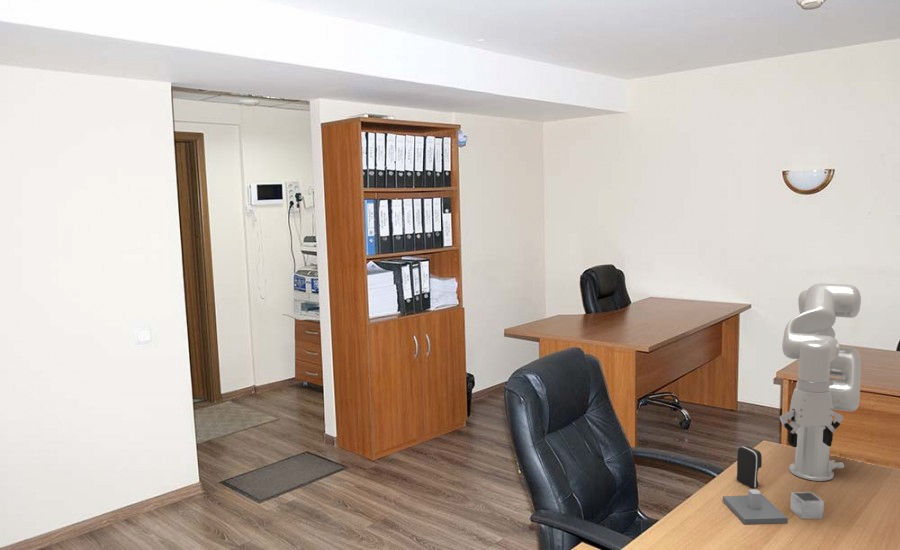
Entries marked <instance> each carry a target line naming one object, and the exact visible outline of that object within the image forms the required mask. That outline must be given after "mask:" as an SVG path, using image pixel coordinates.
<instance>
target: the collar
mask: <svg viewBox="0 0 900 550" xmlns="http://www.w3.org/2000/svg"><path fill="white" fill-rule="evenodd" d="M824 505H825V501H824V500H823V499H822V498H821V497H819V496H818V495H817V494H815V493H814V492H813V491H791V492H790V505H789V506H790V507H789V508H790V510H791V511H792V512H793V513H794V514H795V515H796V516H798V518H800V519H801V520H813V519H816V520H818V519H823V518H824Z"/></svg>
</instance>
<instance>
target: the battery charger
mask: <svg viewBox="0 0 900 550" xmlns="http://www.w3.org/2000/svg"><path fill="white" fill-rule="evenodd" d="M736 454H737V457H736V458H737V459H736V469H737V470H736V480H737V481H738V482H740V483H742V484H744V485H745V486H747V487H750V488H757V487H759V482H758V476H759V474H758V473H759V469H760V468H762V465H763V464H762V462H763V459H762V458H763V457H762V453H761V452H760V450H757V449H756V448H753V447H751V446H748V445H745V446H740V447H738V449H737V453H736Z"/></svg>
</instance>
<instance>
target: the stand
mask: <svg viewBox="0 0 900 550" xmlns="http://www.w3.org/2000/svg"><path fill="white" fill-rule="evenodd" d="M722 503H724V504H725V505H726V506H727V508H728V509H729V510H730V511H731V510H732V511H731V512H732V513H733V514H734V515H735V516H736V517H737V519H739V520H740V521H741V523H742V524H743V525H764V524H765V525H770V524H771V525H773V524H774V525H777V524H788V523H789V521H788V520H789V519H788V517H787V516H786V515H785V514H784V513H783V512H782V510H780V509H779V508H778V507H777V506H775V505H774V504H773V503H772V501H770V500H769V499H768V498H767V497H766V496H765V495H764V494H762V492H761V491H760V490H758V489H748V490H747V494H745V495H722Z"/></svg>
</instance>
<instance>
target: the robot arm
mask: <svg viewBox="0 0 900 550" xmlns="http://www.w3.org/2000/svg"><path fill="white" fill-rule="evenodd" d="M797 299H798V300H797V301H798V312H799V314H797V315H796V316H795V317H793V318H792V319H790V320H789V321H788V322H787V324H786V326H785V328H784V333H783V338H782V349H781V350H782V352H783V353H782V354H783V355H785V357H787V358H788V359H790V360H791V359H792V360H798V371H797V372H798V375H797V376H798V377H797V382H796V385H795V388H794V390H793V392H792V395H791V400H790V405H789V411H787V412H785V413H783V414H781V415H779V417H778V418H779V420H780V422H781V424H782V426H783V427H784V428H785V429H786V430H787V443H788V444H789V445H790V446H792V447H793V448H795V453H794V454H795V455H794V457H795V460H794V462H792V463H791V464H789V466H788V467H789V472H790V473H791V474H792V475H794V476H796V477H799V478H801V479H805V480H807V481H808V480H809V481H815V482H826V481H831V480H832V479H833V478H834V477H835V473H834V471H833V470H835V469H836V470H837V469H838V470H839V469H844V468H845V464H844V462H842V461H839V462H838V461H837V462H836V460H835V459H830V450H831V448H830V447H832V443H833V437H834V433H835V432H836V430H837V429H838V427H839V426H840V425H841V422H842V421H843V419H844V416H843V415H842V414H841V413H838V412H836V411H841V412H854V411H856V410H858V408H859V405H860V399H861V397H860V396H861V376H862V373H861V372H862V359H861V355H860V353H859V351H858V350H857V349H856V348H853V347H847V346H841V345H840V343H839V342H838V340H837V338H835V337H836V331H835V329H834V328H833V326H834V325H835V323H836V320H837V319H836V318H845V319H847V318H848V319H850V318H852V319H854V318H855V317H857V316H858V315H859V313H860V309H861V304H862V296H861V293H860V290H859V289H858V287H856V286H855V285H852V284H841V283H823V282H822V283H815V284H813V285H811V286H810V287H808V289H806V290H803V291H801V292H800V293H799V295H798V298H797ZM831 377H832V378H831ZM833 377H840V378H842V379H839V378H833ZM834 410H835V411H834ZM833 418H834V420H833ZM788 420H789V422H788Z"/></svg>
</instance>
